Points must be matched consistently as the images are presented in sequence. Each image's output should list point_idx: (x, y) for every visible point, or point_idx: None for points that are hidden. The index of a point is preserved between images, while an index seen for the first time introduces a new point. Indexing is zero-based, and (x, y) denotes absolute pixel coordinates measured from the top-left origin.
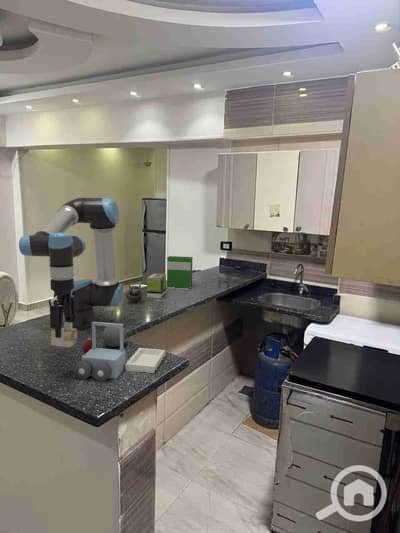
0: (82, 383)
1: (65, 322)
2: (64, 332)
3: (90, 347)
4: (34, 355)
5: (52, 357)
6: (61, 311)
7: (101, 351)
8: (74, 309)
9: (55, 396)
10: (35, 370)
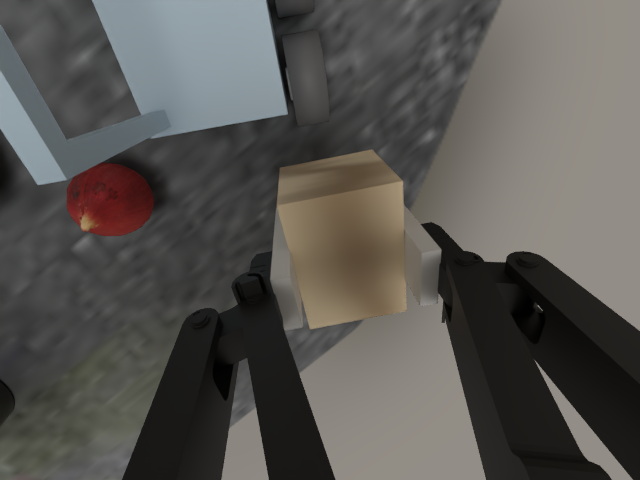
0: (346, 50)
1: (294, 321)
2: (393, 231)
3: (124, 185)
4: None
5: (221, 294)
6: (555, 411)
7: (163, 43)
8: (176, 403)
9: (460, 88)
10: None
